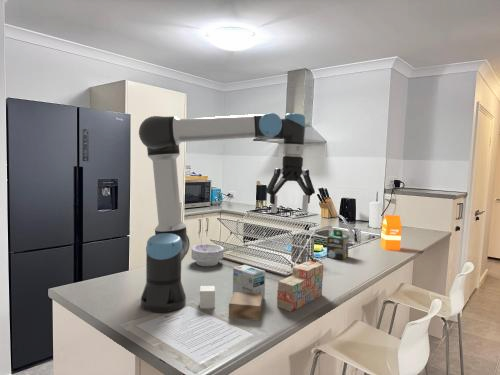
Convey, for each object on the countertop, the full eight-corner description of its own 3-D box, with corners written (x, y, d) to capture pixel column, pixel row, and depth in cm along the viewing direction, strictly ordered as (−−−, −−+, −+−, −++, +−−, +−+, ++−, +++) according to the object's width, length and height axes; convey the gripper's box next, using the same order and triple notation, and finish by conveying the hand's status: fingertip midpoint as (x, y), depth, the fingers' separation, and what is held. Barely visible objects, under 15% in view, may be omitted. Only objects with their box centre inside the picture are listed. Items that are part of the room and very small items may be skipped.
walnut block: (228, 318, 115) (228, 303, 114) (233, 305, 125) (234, 291, 124) (259, 321, 114) (260, 306, 113) (262, 308, 124) (262, 294, 123)
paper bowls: (215, 270, 162) (215, 253, 162) (185, 266, 167) (185, 249, 166) (227, 261, 177) (228, 245, 176) (200, 257, 182) (200, 242, 181)
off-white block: (199, 308, 121) (200, 291, 121) (199, 302, 126) (200, 285, 126) (214, 308, 122) (215, 291, 121) (214, 302, 127) (214, 285, 126)
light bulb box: (265, 299, 131) (266, 270, 130) (252, 304, 126) (253, 274, 125) (244, 291, 138) (245, 263, 137) (231, 295, 133) (232, 267, 132)
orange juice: (400, 250, 211) (402, 216, 209) (385, 249, 211) (387, 216, 209) (394, 246, 218) (397, 214, 217) (380, 246, 219) (382, 214, 217)
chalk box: (348, 256, 193) (349, 229, 192) (342, 260, 185) (344, 232, 184) (331, 253, 198) (333, 227, 196) (325, 257, 190) (327, 229, 189)
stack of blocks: (291, 312, 121) (293, 276, 120) (276, 307, 125) (277, 272, 124) (322, 295, 137) (323, 263, 136) (307, 290, 141) (309, 260, 140)
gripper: (268, 154, 125) (264, 214, 127) (326, 157, 135) (322, 213, 137) (258, 154, 132) (255, 211, 133) (314, 157, 142) (311, 210, 144)
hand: (289, 212), depth 135 cm, fingers open, 13 cm apart
